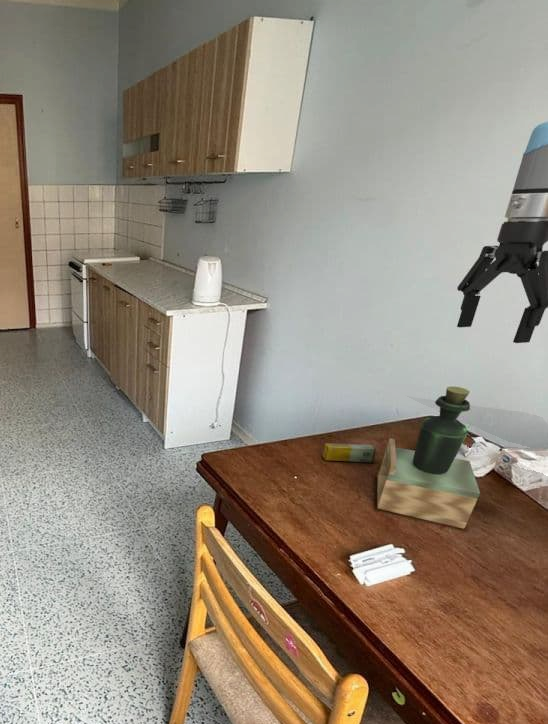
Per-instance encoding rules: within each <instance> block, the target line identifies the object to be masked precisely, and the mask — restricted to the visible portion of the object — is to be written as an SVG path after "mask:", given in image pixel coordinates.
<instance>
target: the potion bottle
mask: <svg viewBox="0 0 548 724" xmlns="http://www.w3.org/2000/svg"><path fill="white" fill-rule="evenodd" d="M445 390H446V391H445V395H441V396H439V397H438V398H437V399H436V400H435V401H434V403H435V405H436V406H437V407H439V415H435V416H429V417H427V418H425V419H424V420H423V421H422V422H421V423H420V427H419V431H418V436H417V440H416V445H415V449H414V451H415V453H414V458H413V464H414V466H415V467H416V468H418V469H419V470H421V471H424V472H426V473H430V474H444V473H446V472H447V471H448V470H449V468H450V466H451V464H452V462H453V461H454V459H455V458H457V455H458V453H459V451H460V449H461V447H462V446H463V445H464V444H463V442H464V440H465V438H466V436H467V434H468V429H467V427H466V425H465V424H463V422H461V421H459V420H458V418H459V416H460V415H461V414H462V413H463V412H468V411H471V404H470V401H468V400H467V399H466V398H467V397H468V396H469V394H470V390H468V389H467V388H464V387H461V386H447V387H446V388H445ZM468 435H469V434H468Z"/></svg>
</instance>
